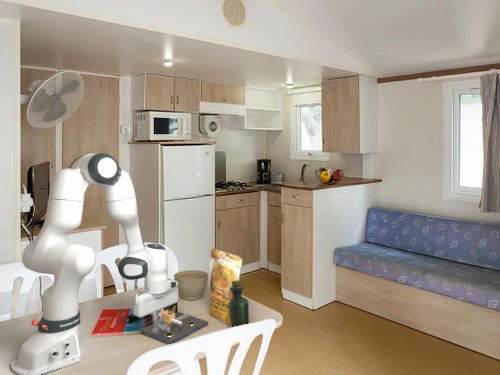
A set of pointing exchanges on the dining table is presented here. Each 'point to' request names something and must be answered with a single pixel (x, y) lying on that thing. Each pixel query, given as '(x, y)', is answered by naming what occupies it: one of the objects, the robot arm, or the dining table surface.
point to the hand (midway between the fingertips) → (157, 320)
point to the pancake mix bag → (222, 282)
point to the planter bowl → (191, 283)
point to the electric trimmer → (133, 318)
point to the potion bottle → (238, 305)
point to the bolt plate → (173, 328)
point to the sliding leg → (170, 317)
